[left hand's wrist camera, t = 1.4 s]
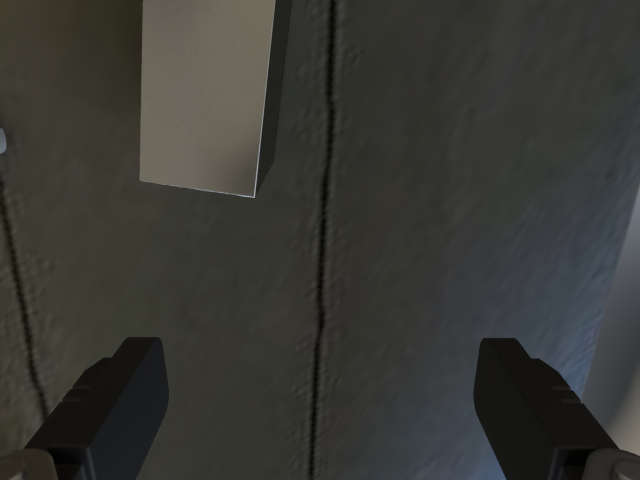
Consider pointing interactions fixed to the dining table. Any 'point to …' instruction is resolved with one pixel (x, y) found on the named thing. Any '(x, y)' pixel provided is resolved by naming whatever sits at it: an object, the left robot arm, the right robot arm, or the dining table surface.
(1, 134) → the clamp
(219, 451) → the dining table surface
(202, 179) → the bar
